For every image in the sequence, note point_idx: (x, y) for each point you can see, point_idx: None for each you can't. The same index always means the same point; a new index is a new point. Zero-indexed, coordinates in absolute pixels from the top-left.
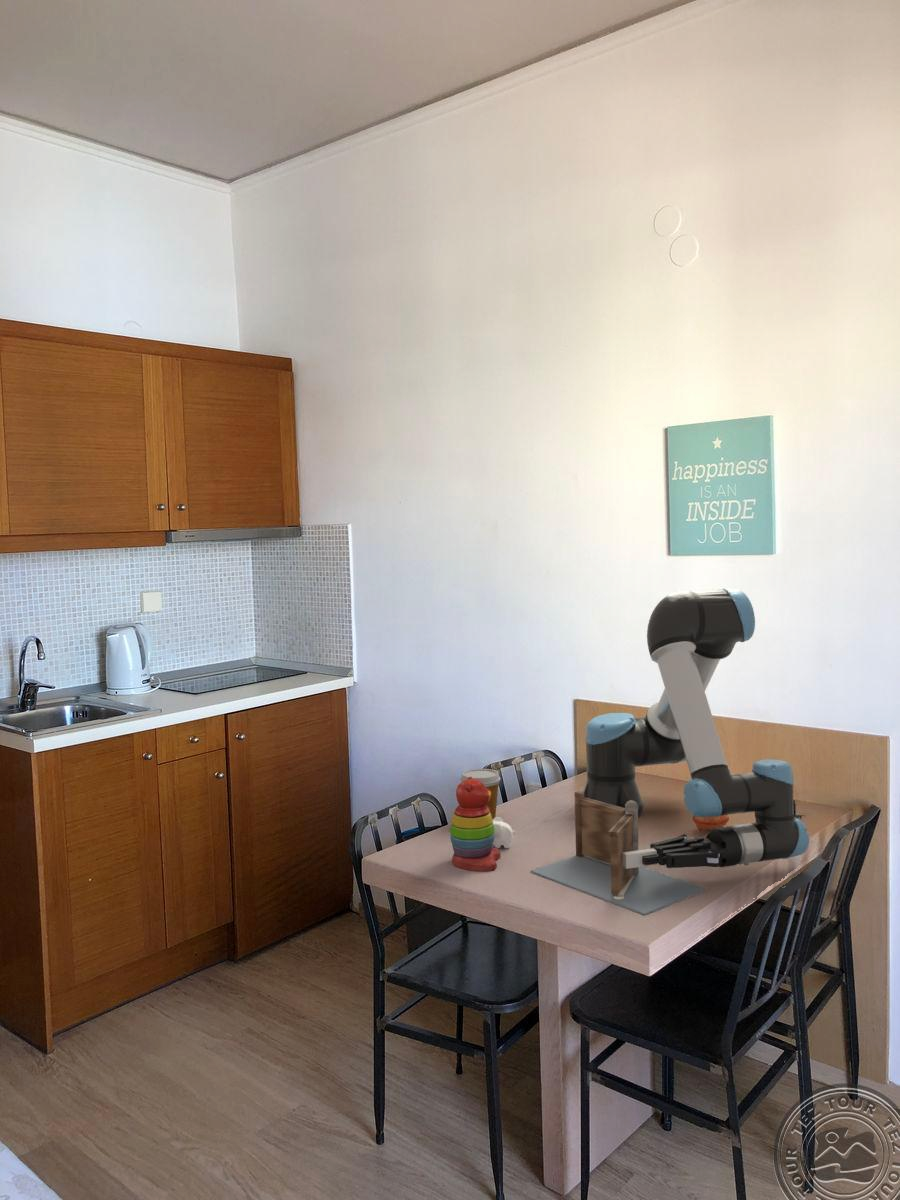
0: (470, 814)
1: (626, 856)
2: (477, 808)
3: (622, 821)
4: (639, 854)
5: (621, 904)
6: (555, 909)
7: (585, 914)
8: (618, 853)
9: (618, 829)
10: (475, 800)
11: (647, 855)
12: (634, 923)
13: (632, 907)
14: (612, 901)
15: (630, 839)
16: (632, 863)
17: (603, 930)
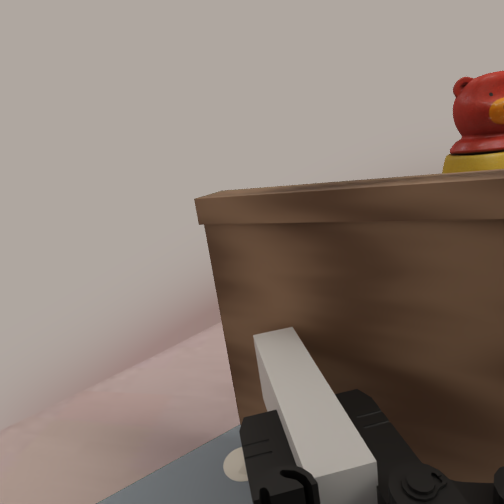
0: (451, 148)
1: (254, 343)
2: (470, 137)
3: (385, 181)
4: (270, 386)
5: (174, 462)
6: (217, 341)
7: (162, 383)
8: (239, 305)
9: (238, 194)
10: (458, 117)
11: (286, 437)
12: (19, 487)
13: (129, 495)
14: (212, 440)
15: (499, 338)
16: (267, 399)
17: (47, 409)
